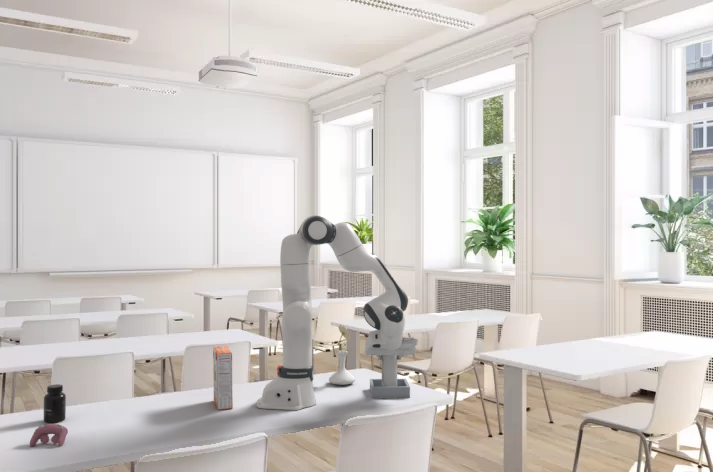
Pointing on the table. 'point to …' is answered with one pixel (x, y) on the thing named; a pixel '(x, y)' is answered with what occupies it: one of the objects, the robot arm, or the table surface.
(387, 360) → the travel mug
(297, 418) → the table surface
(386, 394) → the tray
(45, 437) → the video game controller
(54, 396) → the supplement bottle
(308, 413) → the table surface
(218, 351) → the cracker box
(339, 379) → the flower in vase
